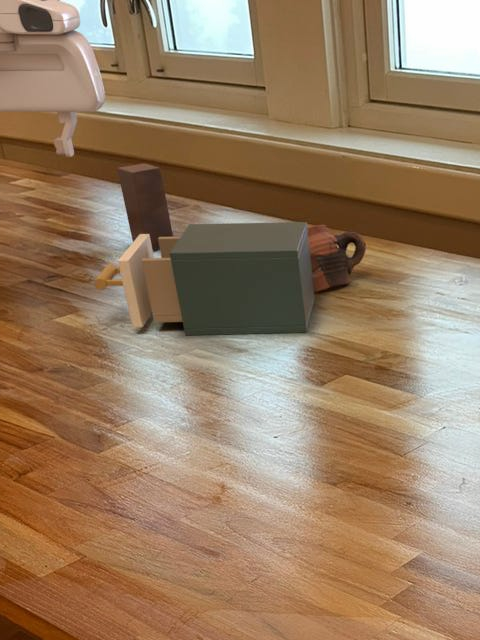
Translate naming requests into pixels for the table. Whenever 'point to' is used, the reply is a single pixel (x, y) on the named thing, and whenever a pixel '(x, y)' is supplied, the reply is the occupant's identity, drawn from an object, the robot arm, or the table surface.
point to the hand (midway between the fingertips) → (23, 156)
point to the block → (145, 202)
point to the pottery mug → (333, 256)
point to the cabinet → (244, 278)
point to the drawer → (146, 281)
